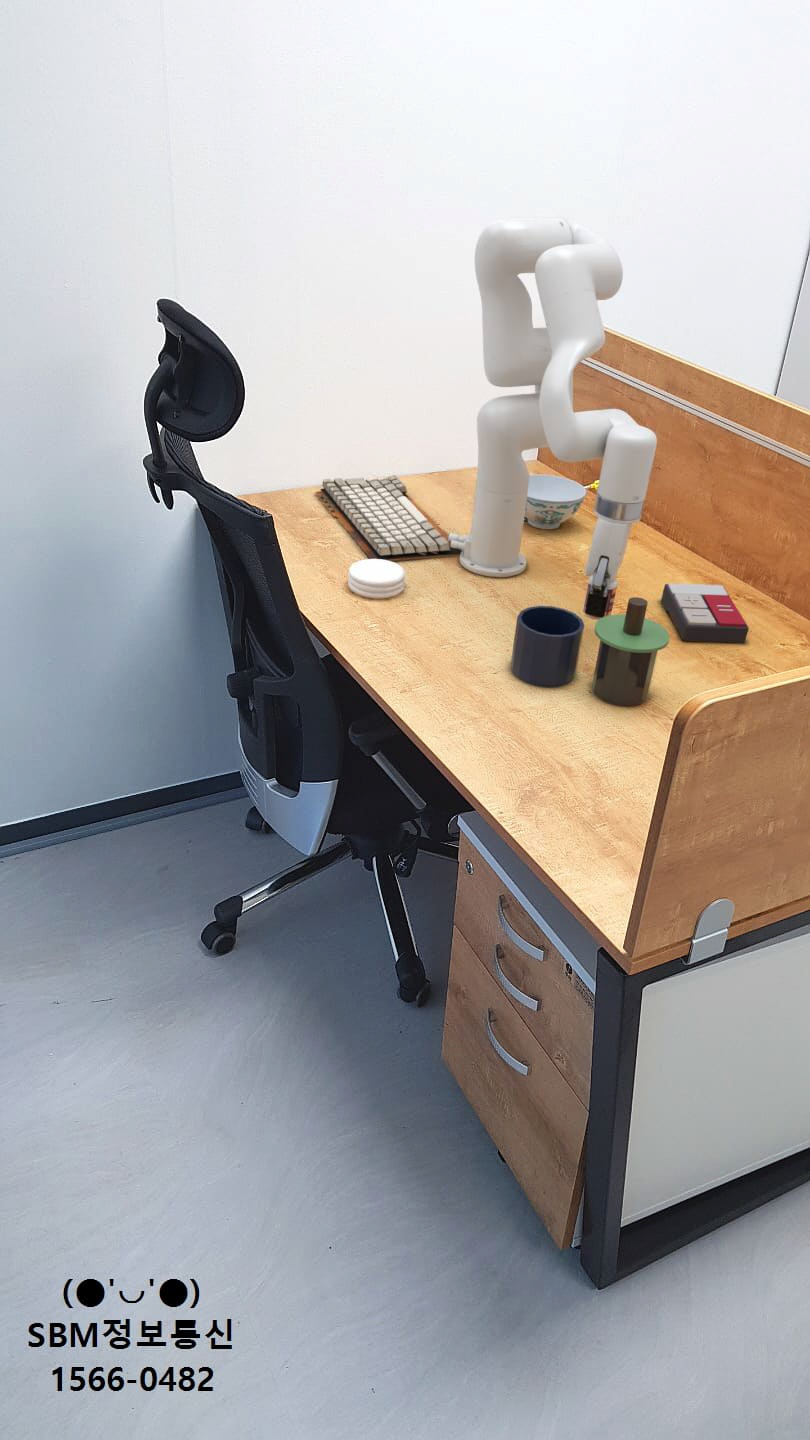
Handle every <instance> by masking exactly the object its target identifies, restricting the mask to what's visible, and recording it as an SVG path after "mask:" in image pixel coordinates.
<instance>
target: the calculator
mask: <svg viewBox="0 0 810 1440" xmlns="http://www.w3.org/2000/svg"><path fill="white" fill-rule="evenodd" d="M661 594H662V595H661V598H660V599H661V600H660V602H661V605H662V607H663V608H664V610H665V611H666V612H668V614H669V616H670V618H671V620H672V622H673V624H674V626H675V628H676V630H677V632H678V633H679V636H680V638H681V639H682V641H684V642H703V643H705V642H707V643H736V644H737V643H738V644H744V643H745V642H746V640H747V635H748V632H749V629H750V627H749V625H748V624H747V621H745V619H744V617H743V615H742V613H740V611H739V609H738V608H737V606H736V604H735V603H734V601H733V599H732V598H731V596H730V595H729V593H728V591H727V590H726V588H725V586H723V585H721V584H701V583H672V582H670V583H669V582H668V583H665V584H664V586H663V590H662V593H661Z"/></svg>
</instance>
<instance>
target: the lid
mask: <svg viewBox="0 0 810 1440" xmlns="http://www.w3.org/2000/svg"><path fill="white" fill-rule="evenodd" d="M648 605H649V603H648V600H647V599H645V598H642V597H638V596H632V597H630V598H629V599H628V601H627V607H626V612H625V614H623V613H622V614H621V613H620V614H618V613H617V614H611V615H609V616H605V617H603V618H601V619H599V620H596V621H595V623H594V628H593V631H594V635H595V636H596V637H597V639H599V641H600V640H601V641H602V642H604V643H606V644H607V645H609V646H611V647H614V648H617V649H620V650H624V651H629V652H636V653H649V652H655V651H658V652H659V651H661V650H664V649H665V648H666V647H667V646H668V645H669V643H670V639H671V638H670V633H669V632H668V630H667V629H666V627H664V626H663V625H662V624H660V623H659V622H656V621H655V620H652V619H649V618H647V617H646V614H647V608H648Z"/></svg>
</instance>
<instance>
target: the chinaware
mask: <svg viewBox="0 0 810 1440" xmlns="http://www.w3.org/2000/svg"><path fill="white" fill-rule="evenodd" d="M586 495H587V490H586V488H585V487H584V485H582V484H580V483H579V482H577V481H575V480H573V479H570V478H567V477H563V476H560V475H553V474H538V473H537V474H529V485H528V494H527V501H526V508H525V516H524V518H526V519H527V523H528V524H529V525H530V526H532V527H534V528H538V529H542V530H554V529H558V528H559V527H560V526H561V523H562V524H563V523H564V522H565V521H567V520H569V519H571V518H572V517H573V516H574V515H575V514H576V513H577V512H578V511H579V509H580V508H581V506H582V504H583V503H584V500H585V498H586Z"/></svg>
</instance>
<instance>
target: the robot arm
mask: <svg viewBox="0 0 810 1440" xmlns="http://www.w3.org/2000/svg"><path fill="white" fill-rule="evenodd" d="M623 270H624V269H623V265H622V261H621V259H620V256H619V254H618V253H617V251H616V249H615V248H614V247H613V246H612V245H611V244H609V242H608V241H606V240H605V239H604V238H602V237H601V236H600V235H598V234H597V233H596V232H594V231H593V230H591V229H590V228H588V227H587V226H586V225H584V224H583V223H582V222H580V221H578V220H577V219H575V218H571V217H565V216H561V217H560V216H515V217H513V216H512V217H504V218H500V219H497V220H494V221H492V222H490V223H489V224H488V225H486V226H485V227H484V229H483V230H482V231H481V232H480V234H479V236H478V238H477V242H476V246H475V250H474V272H475V278H476V283H477V286H478V290H479V295H480V301H481V315H482V317H481V318H482V321H481V322H482V347H483V348H482V352H483V353H482V355H483V367H484V369H483V370H484V373H485V376H486V379H487V381H488V382H489V384H491V385H492V386H495V387H499V388H516V387H529V386H534V393H520V394H510V395H509V394H508V395H501V396H497V397H494V398H492V399H489V400H488V401H486V402H485V403H484V404H483V405H482V406H481V408H480V409H479V411H478V413H477V417H476V433H477V453H478V454H477V469H476V479H475V488H474V489H475V490H474V499H473V506H472V507H473V509H472V516H471V527H470V534H465V535H460V534H459V533H453V532H450V533H449V534H448V536H447V537H448V543H451V547H452V548H456V549H457V548H458V549H461V551H462V552H461V554H460V556H459V563H460V564H461V566H462V567H463V568H464V569H466V570H468V571H470V572H471V573H474V574H477V575H480V576H485V577H492V578H507V577H514V576H517V575H520V574H521V573H522V572H524V571H525V570H526V568H527V559H526V557H525V556H524V555H523V554H522V553H520V552H521V544H522V537H523V530H524V523H525V508H526V501H527V494H528V485H529V475H530V472H529V468H528V466H527V464H526V462H525V460H524V458H523V455H522V453H523V452H524V451H529V450H535V449H541V448H549V450H550V451H551V453H552V455H553V456H554V457H555V458H556V459H557V460H559V461H561V462H563V463H569V464H571V463H579V462H587V461H595V460H602V464H601V469H600V474H599V480H598V484H597V490H596V495H595V500H594V505H593V509H592V510H593V514H594V515H595V516H596V517H597V520H596V523H595V526H594V530H593V534H592V538H591V543H590V547H589V552H588V556H587V560H586V564H585V569H584V575H585V576H586V577H588V576H590V577H591V576H592V574H593V572H594V575H593V580H592V584H591V588H590V591H589V594H588V599H587V604H586V609H585V613H586V614H588V615H592V616H597V617H601V618H603V617H604V615H605V611H606V606H607V601H608V597H609V595H607V593H608V589H609V584H610V581H612V580H614V578H615V576H616V574H617V572H618V573H619V570H620V568H621V566H622V563H623V560H624V557H625V554H626V550H627V548H628V544H629V539H630V535H631V531H632V525H633V524H635V523H638V522H639V521H640V520H642V514H643V510H644V507H645V501H646V496H647V491H648V486H649V482H650V478H651V474H652V468H653V464H654V460H655V455H656V450H657V446H658V438H657V437H658V436H657V435H656V433H655V432H654V431H653V430H651V429H650V428H649V427H645V426H642V425H639V424H638V423H637V422H636V421H635V420H634V419H633V418H632V416H630V414H628V413H627V412H626V411H624V410H621V409H618V408H606V409H595V410H586V411H584V410H583V411H577V412H574V369H575V367H576V366H577V365H578V364H579V363H580V362H583V361H584V360H586V359H587V358H590V357H591V356H593V355H594V354H596V353H597V352H598V351H600V349H602V348H603V346H604V345H605V342H606V333H605V329H604V324H603V321H602V317H601V312H600V308H599V304H598V301H607V300H609V299H612V298H613V297H614V296H616V294H617V293H618V292H619V291H620V289H621V286H622V284H623V277H624V271H623ZM521 274H534V279H535V283H536V284H535V285H536V287H537V288H536V289H537V292H538V297H539V301H540V305H541V309H542V313H543V317H544V322H545V326H546V327H534V325H533V301H532V298H531V295H530V293H529V291H528V288H527V287H526V285H525V284H524V282H523V281H522V279H521V278H520V276H518V275H521ZM605 573H606V574H609V576H608V577H606V576H605ZM617 575H618V574H617ZM603 581H606V585H605V586H604V585H603Z"/></svg>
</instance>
